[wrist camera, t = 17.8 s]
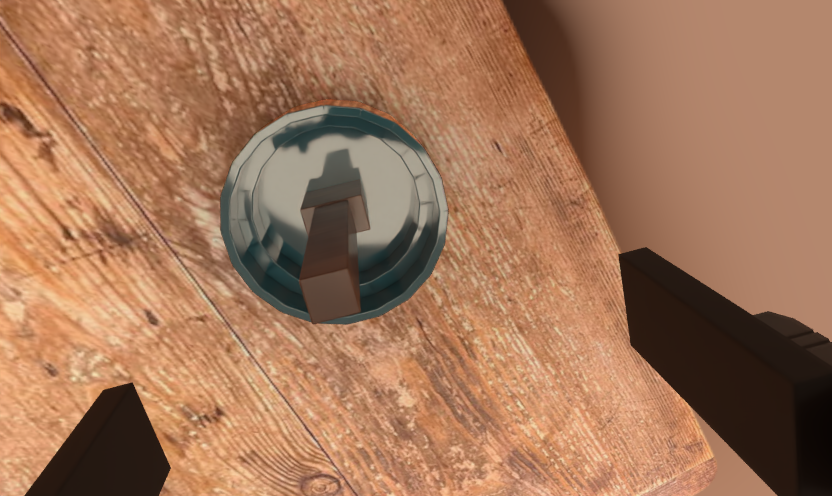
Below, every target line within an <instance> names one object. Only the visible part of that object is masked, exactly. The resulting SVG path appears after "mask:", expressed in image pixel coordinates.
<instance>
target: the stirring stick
mask: <svg viewBox="0 0 832 496" xmlns="http://www.w3.org/2000/svg"><path fill="white" fill-rule="evenodd" d="M300 212H301V215H302V218H303V222H304V225H305V228H306V232H307V235H308V241H307V245H306V250H305V255H304V259H303V264H302V268H301V273H300V277H299V284H300V287H301V290H302V293H303V296H304V300H305V303H306V306H307V309H308V312H309V315H310V319H311V322H312V324H317V323H321V322H325V321H329V320H333V319H337V318H341V317H345V316H349V315H353V314H357V313H360V311H361V308H360V288H359V269H358V250H357V233H358V232H362V231H366V230H370V221H369V213H368V208H367V204H366V200H365V197H364V193H363V189H362V185H361V181H360V180H355V181H351V182H347V183H343V184H339V185H335V186H331V187H327V188H323V189H319V190H315V191H311V192H307V193H305V196H304V199H303V202H302V206H301V209H300Z"/></svg>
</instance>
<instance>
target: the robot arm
mask: <svg viewBox="0 0 832 496" xmlns="http://www.w3.org/2000/svg"><path fill="white" fill-rule="evenodd" d="M618 255H619V263H620V270H621V277H622V284H623V292H624V299H625V306H626V314H627V321H628V328H629V336H630V343H631V346H632V347H633V348H634V349H635V350H636V351H637V352H638V353H639V354H640V355H641V356H642V357H643V358H644V359H645V360H646V361H647V362H648V363H649V364H650V365H651V366H652V367H653V368H654V369H655V370H656V371H657V372H658V373H659V375H660V376H661V377H662V378H663V379H664V380H665V381H666V382H667V383H668V384H669V385H670V386H671V387H672V388H673V389H674V390H675V391H676V392H677V393H678V394H679V395H680V396H681V397H682V398H683V399H684V400H685V401H686V402H687V403H688V404H689V405H690V406H691V407H692V408H693V409H694V410H695V411H696V412H697V413H698V414H699V416H700V417H701V418H702V419H703V420H705V422H706V423H707V424H708V425H710V427H711V428H712V429H713V430H714V431H715V432H716V433H717V434H718V435H719V436H720V437H721V438H722V439H723V440H724V441H725V442H726V443H727V444H728V445H729V446H730V447H731V448H732V449H733V450H734V451H735V452H736V453H737V454H738V455H739V456H740V457H741V459H742V460H743V461H744V462H745V463H746V464H747V465H748V466H749V467H750V468H751V469H752V470H753V471H754V472H755V473H756V474H757V475H758V476H759V477H760V478H761V479H762V480H763V481H764V482H765V483H766V484H767V485H768V486H769V487H770V488H771V489H772V490H773V491H774V492H775V493H776V494H777V495H778V496H832V342H830V341H829V339H828V338H826V337H824V336H823V335H821V334H819V333H818V332H817V333H814V332H813V330H812V329H810V328H809V327H807V326H806V325H804V324H802V323H801V322H799V321H797V320H795V319H793V318H790V317H786V316H783V315H779V314H776V313H772V312H769V311H767V312H764V313H760V314H756V315H751V314H750V313H748V312H747V311H745V310H744V309H742V308H740V307H739V306H737V305H736V304H734V303H732V302H731V301H730V300H728V299H726V298H725V297H723V296H722V295H720V294H719V293H717V292H715V291H714V290H712V289H711V288H709V287H708V286H706V285H704V284H703V283H701V282H700V281H698V280H697V279H695V278H694V277H692V276H690V275H689V274H687V273H686V272H684V271H683V270H681V269H680V268H678V267H676V266H675V265H673V264H672V263H670V262H668V261H667V260H665V259H664V258H662V257H661V256H659V255H658V254H656V253H654V252H653V251H651V250H650V249H648V248H647V247H645V248H641V249H637V250H633V251H630V252H626V253H622V254H618ZM170 469H171V467H170V465H169V463H168V461H167V458H166V456H165V454H164V452H163V449H162V447H161V445H160V443H159V440H158V438H157V436H156V434H155V432H154V429H153V427H152V425H151V423H150V420H149V418H148V416H147V414H146V411H145V409H144V407H143V405H142V403H141V400H140V398H139V396H138V394H137V391H136V389H135V387H134V385H133V382H132V383H128V384H124V385H121V386H117V387H113V388H109V389H105V390H103V391H102V393H101V394H100V395H99V397H98V398H97V399H96V401H95V402H94V403H93V405H92V406H91V407H90V409H89V410H88V411H87V413H86V414H85V415H84V417H83V418H82V419H81V421H80V422H79V423H78V425H77V426H76V427H75V429H74V430H73V431H72V433H71V434H70V435H69V437H68V438H67V439H66V441H65V442H64V443H63V445H62V446H61V447H60V449H59V450H58V451H57V453H56V454H55V455H54V457H53V458H52V459H51V461H50V462H49V463H48V465H47V466H46V468H45V469H44V470H43V472H42V473H41V474H40V476H39V477H38V478H37V480H36V481H35V482H34V484H33V485H32V486H31V488H30V489H29V490H28V492H27V493H26V494H25V496H159V494H160V491H161V489H162V487H163V485H164V482H165V480H166V478H167V476H168V473H169V471H170Z"/></svg>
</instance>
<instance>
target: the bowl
mask: <svg viewBox="0 0 832 496" xmlns="http://www.w3.org/2000/svg"><path fill="white" fill-rule="evenodd" d="M355 180H360V181H361V185H362V189H363V193H364V197H365V200H366V204H367V208H368V213H369V221H370V230H366V231H362V232H358V233H357V250H358V269H359V288H360V308H361V311H360V313H357V314H353V315H349V316H345V317H341V318H337V319H333V320H329V321H325V322H321V323H319V324H352V323H356V322H359V321H363V320H367V319H371V318H375V317H379V316H382V315H383V314H385V313H387V312H388V311H390V310H392V309H393V308H395V307H397V306H398V305H400V304H402V303H403V302H405V301H407V300H408V299H410V298H411V297H412V295H413V294H414V293H415V292H416V291H417V290H418V289H419V288H420V287H421V285H422V284H423V283H424V282H425V281H426V280H427V279H428V278H429V277H430V275H431V274H432V272H433V270H434V268H435V265H436V263H437V261H438V259H439V256H440V254H441V252H442V250H443V248H444V245H445V240H446V231H447V222H448V212H449V211H448V210H449V209H448V205H447V200H446V196H445V191H444V186H443V182H442V178H441V175H440V174H439V172H438V170H437V169H436V167H435V165H434V163H433V162H432V160H431V158H430V157H429V155H428V153H427V152H426V150H425V148H424V147H423V146H422V144H421V143H420V142H419V141H418V140H417V139H416V137H415V136H414V135H413V134H412V133H411V132H409V131H408V130H407V129H406V128H405V127H404V126H402V125H401V124H400V123H399V122H398V121H397V120H396V119H394V118H393V117H392V116H391V115H389V114H387V113H385V112H383V111H380V110H378V109H376V108H373V107H371V106H369V105H366V104H364V103H362V102H357V101H346V100H334V99H327V100H326V99H324V100H320V101H315V102H311V103H307V104H303V105H299V106H295V107H293V108H291V109H289V110H288V111H286V112H285V113H283V114H282V115H280V116H278V117H277V118H275V119H274V120H272V121H271V122H269V123H267V124H266V125H265V126H264V127H262V128H261V129H260V130H259V131H258V132H256V133H255V134H254V135H253V136H252V138H251V139H250V140H249V142H248V143H247V144H246V145H245V147H244V148H243V149H242V150H241V152H240V153H239V154H238V155H237V157H236V158H235V159H234V160H233V162H232V164H231V167H230V170H229V172H228V175H227V178H226V181H225V184H224V187H223V190H222V193H221V197H220V231H221V235H222V237H223V240H224V243H225V246H226V249H227V252H228V255H229V257H230V260H231V263H232V264H233V267H234V268H235V269H236V271H237V272H238V273H239V275H240V276H241V277H242V279H243V280H244V281H245V282H246V284H247V285H248V286H249V288H250V289H251V290H252V292H254V293H255V294H256V295H258V296H259V297H260V298H262V299H263V300H265V301H266V302H268V303H269V304H270V305H272V306H273V307H275V308H276V309H277V310H279V311H280V312H282V313H285V314H288V315H291V316H294V317H297V318H300V319H303V320H306V321H309V322H311V319H310V315H309V312H308V309H307V306H306V303H305V300H304V296H303V293H302V290H301V287H300V284H299V277H300V273H301V268H302V264H303V259H304V255H305V250H306V245H307V241H308V235H307V232H306V228H305V225H304V222H303V218H302V215H301V212H300V209H301V206H302V202H303V199H304V196H305V193H307V192H311V191H315V190H319V189H323V188H327V187H331V186H335V185H339V184H343V183H347V182H351V181H355Z"/></svg>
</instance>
